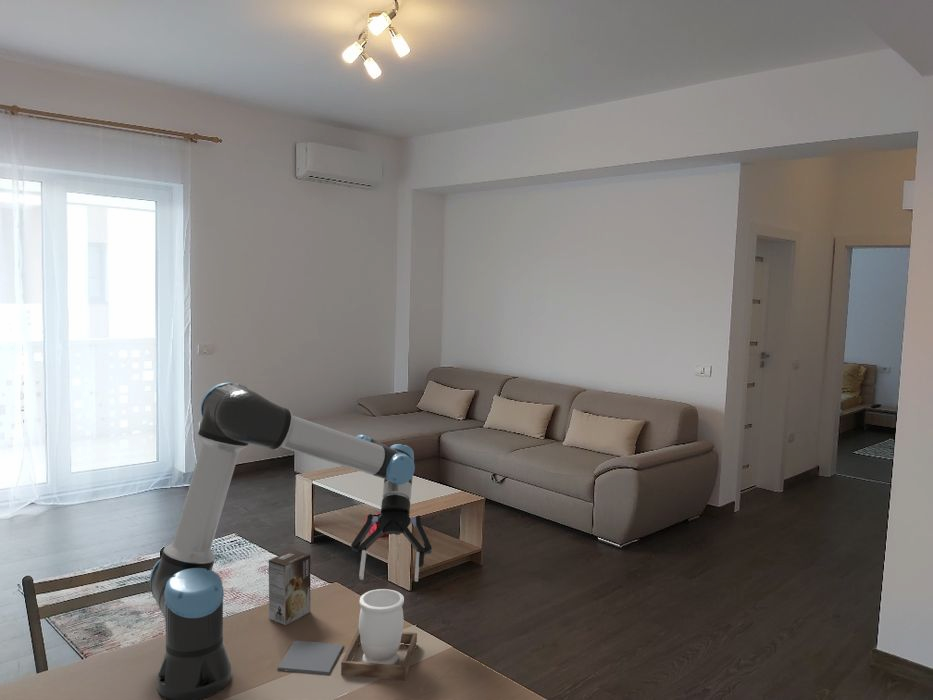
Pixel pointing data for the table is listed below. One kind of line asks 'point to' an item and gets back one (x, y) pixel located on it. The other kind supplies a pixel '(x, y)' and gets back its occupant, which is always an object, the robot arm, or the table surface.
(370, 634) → the jar
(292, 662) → the pad
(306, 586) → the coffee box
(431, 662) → the table surface
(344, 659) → the collar
